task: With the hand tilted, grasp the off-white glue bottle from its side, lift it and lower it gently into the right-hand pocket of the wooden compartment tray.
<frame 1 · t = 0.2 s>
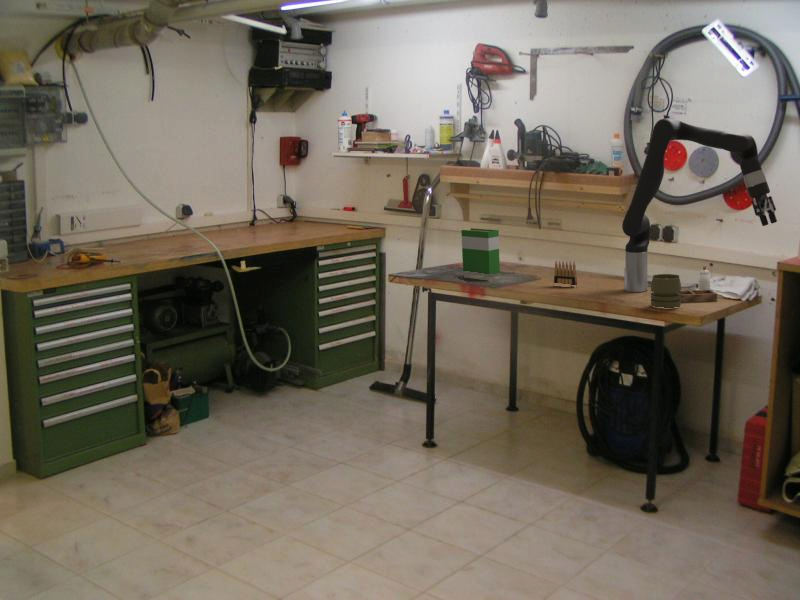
hand: (770, 224, 330), 31 cm above the table, tool tilted 20°, fingers open, 8 cm apart
ammunition clip: (565, 287, 391), on the table
wooden compartment tray: (692, 299, 351), on the table
glue bottle: (704, 293, 361), on the table
olive green pot: (665, 306, 341), on the table
green box: (481, 279, 424), on the table
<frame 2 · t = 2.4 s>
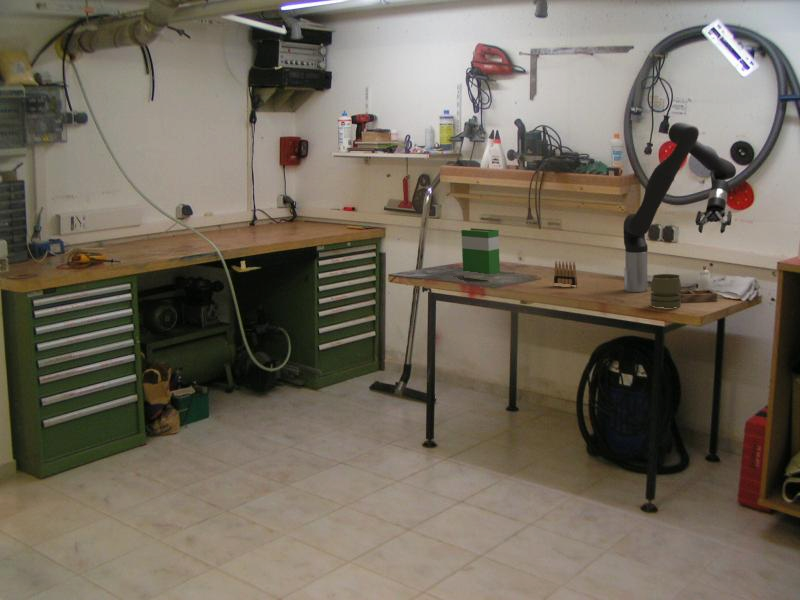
hand: (710, 232, 365), 25 cm above the table, tool tilted 45°, fingers open, 8 cm apart
nothing on the table moved.
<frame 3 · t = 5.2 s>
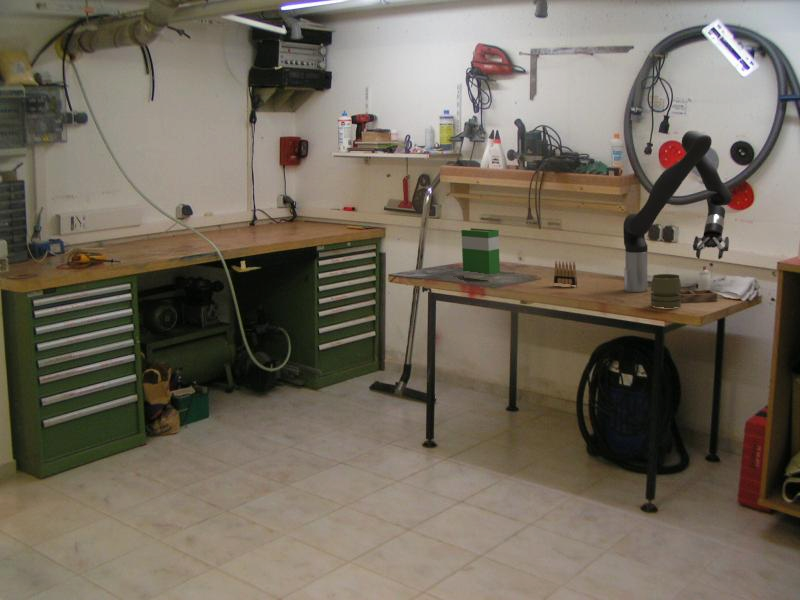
hand: (708, 257, 366), 14 cm above the table, tool tilted 45°, fingers open, 8 cm apart
nothing on the table moved.
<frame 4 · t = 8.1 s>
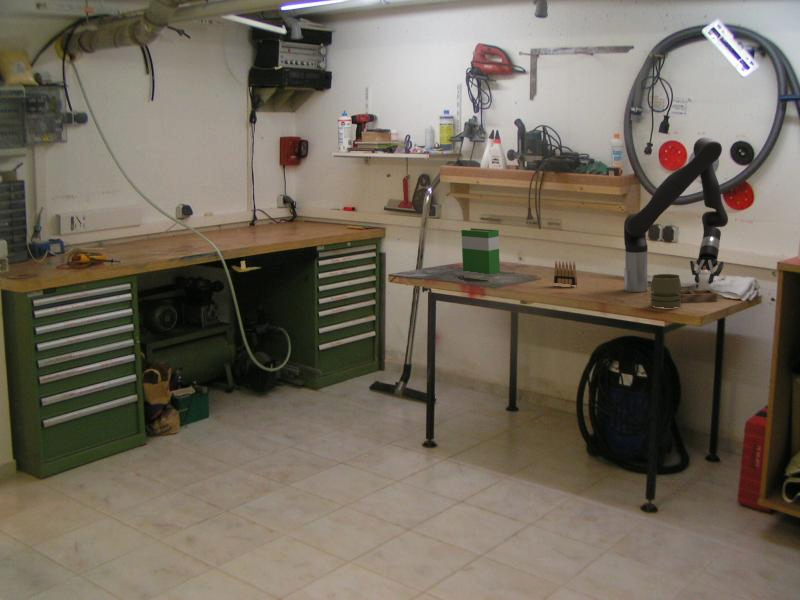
hand: (703, 282, 358), 5 cm above the table, tool tilted 45°, fingers closed on glue bottle, 4 cm apart
glue bottle: (704, 293, 361), on the table, touching gripper
everything else where it was.
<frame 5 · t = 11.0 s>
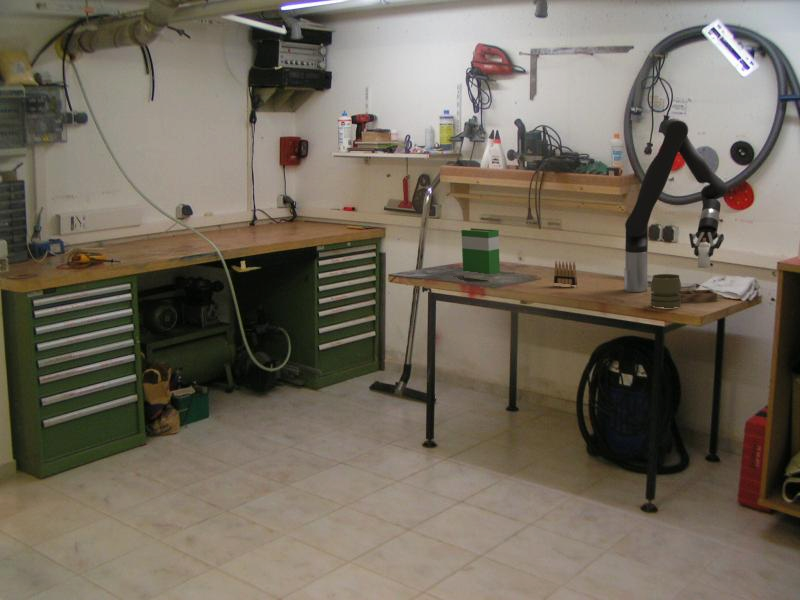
hand: (703, 255, 348), 18 cm above the table, tool tilted 45°, fingers closed on glue bottle, 4 cm apart
glue bottle: (703, 267, 350), point 13 cm above the table, touching gripper
everything else where it was.
when the fingers open (8 cm above the table, at t = 13.8 s): glue bottle drops 1 cm, resting on wooden compartment tray.
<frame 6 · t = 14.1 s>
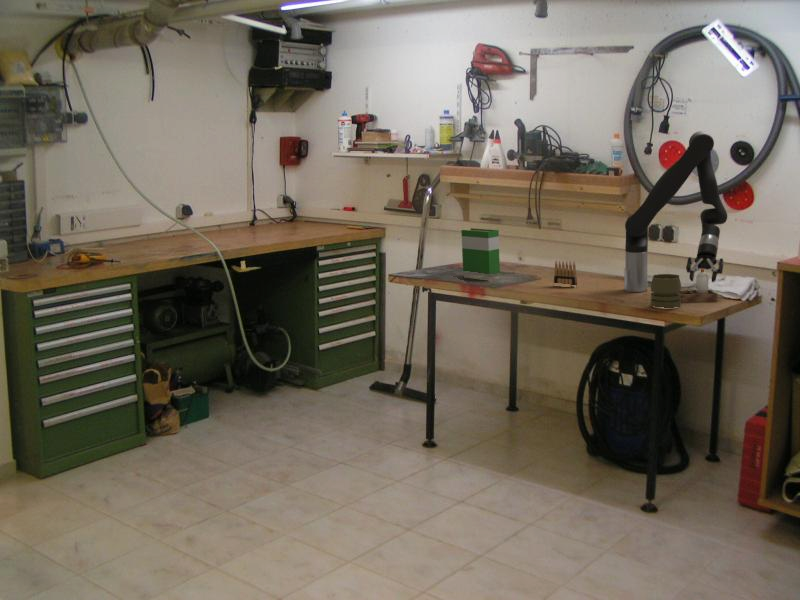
hand: (702, 280, 347), 8 cm above the table, tool tilted 45°, fingers open, 7 cm apart
glue bottle: (702, 296, 350), point 1 cm above the table, touching wooden compartment tray
everything else where it was.
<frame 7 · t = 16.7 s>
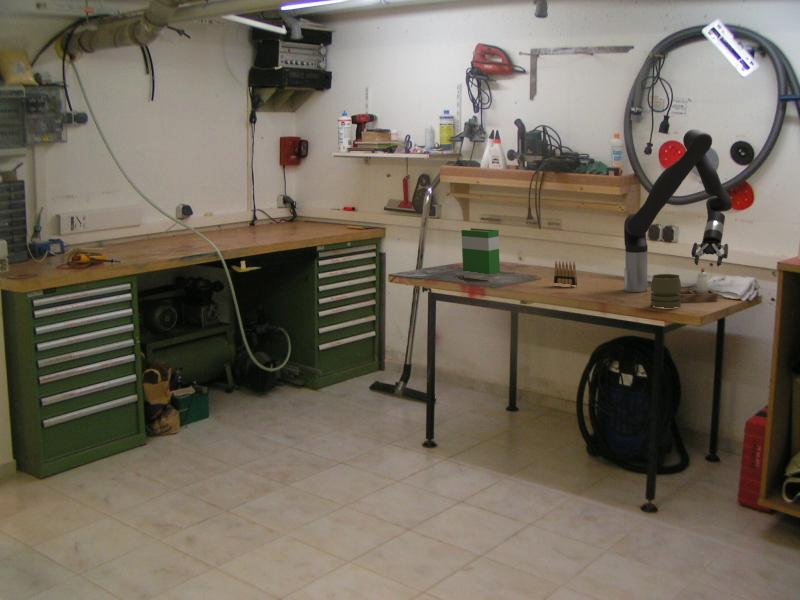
hand: (707, 264, 359), 12 cm above the table, tool tilted 45°, fingers open, 8 cm apart
nothing on the table moved.
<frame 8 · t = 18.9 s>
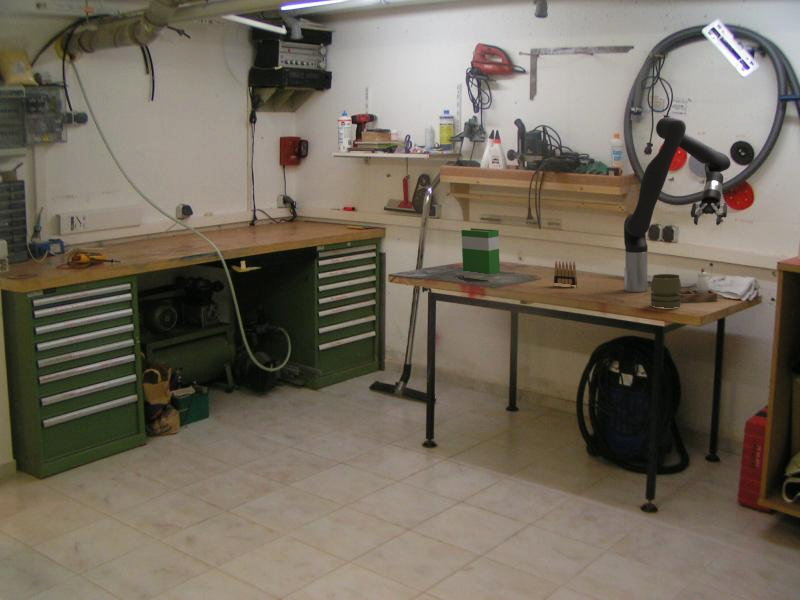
hand: (706, 223, 360), 29 cm above the table, tool tilted 45°, fingers open, 8 cm apart
nothing on the table moved.
at the end: glue bottle 0.2 cm from the target spot on the wooden compartment tray, point 1.0 cm above the wooden compartment tray's base; glue bottle tilted 0°; the gripper is holding nothing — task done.
